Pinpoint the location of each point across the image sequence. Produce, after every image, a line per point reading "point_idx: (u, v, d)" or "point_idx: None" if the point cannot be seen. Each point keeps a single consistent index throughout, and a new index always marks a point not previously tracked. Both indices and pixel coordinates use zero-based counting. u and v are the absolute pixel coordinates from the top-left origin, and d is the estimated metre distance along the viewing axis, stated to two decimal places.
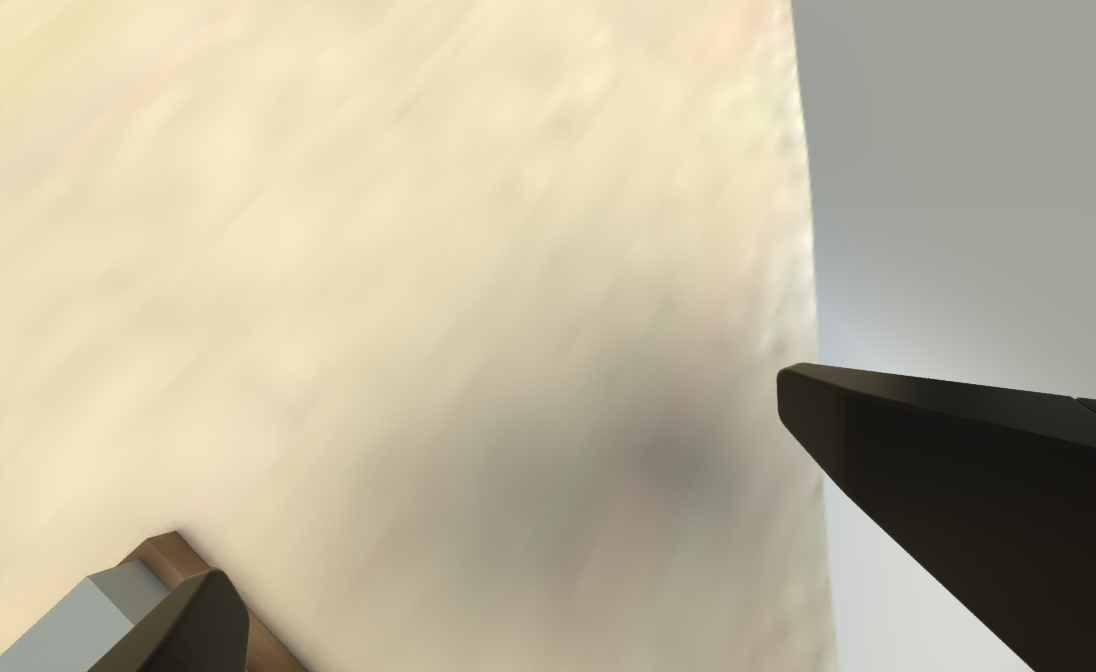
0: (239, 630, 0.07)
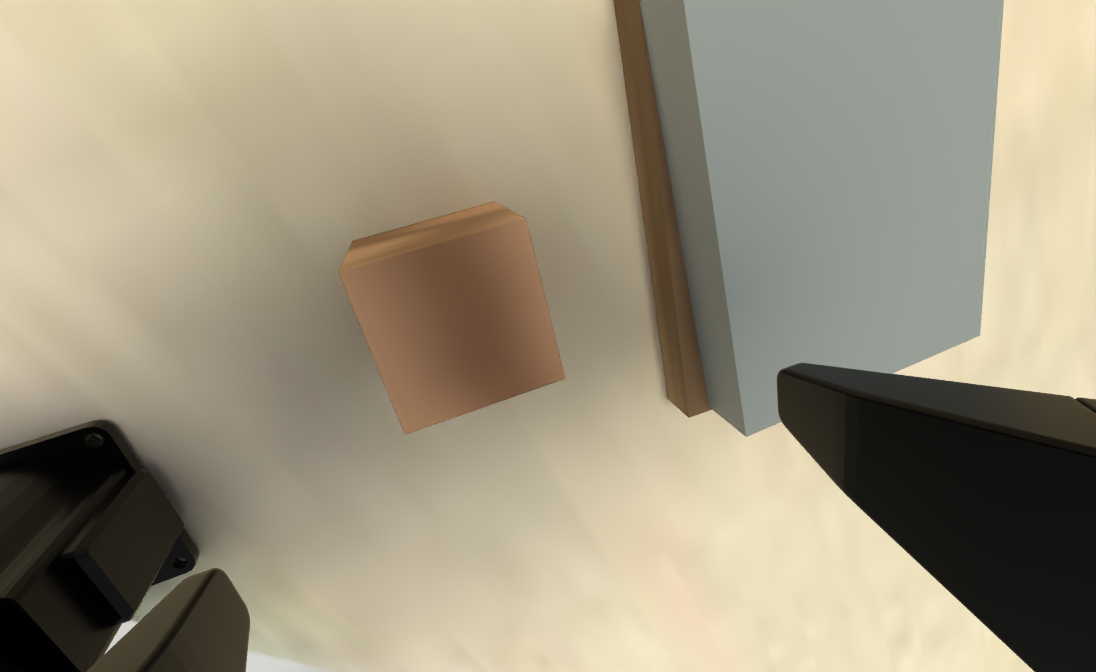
0: (239, 630, 0.07)
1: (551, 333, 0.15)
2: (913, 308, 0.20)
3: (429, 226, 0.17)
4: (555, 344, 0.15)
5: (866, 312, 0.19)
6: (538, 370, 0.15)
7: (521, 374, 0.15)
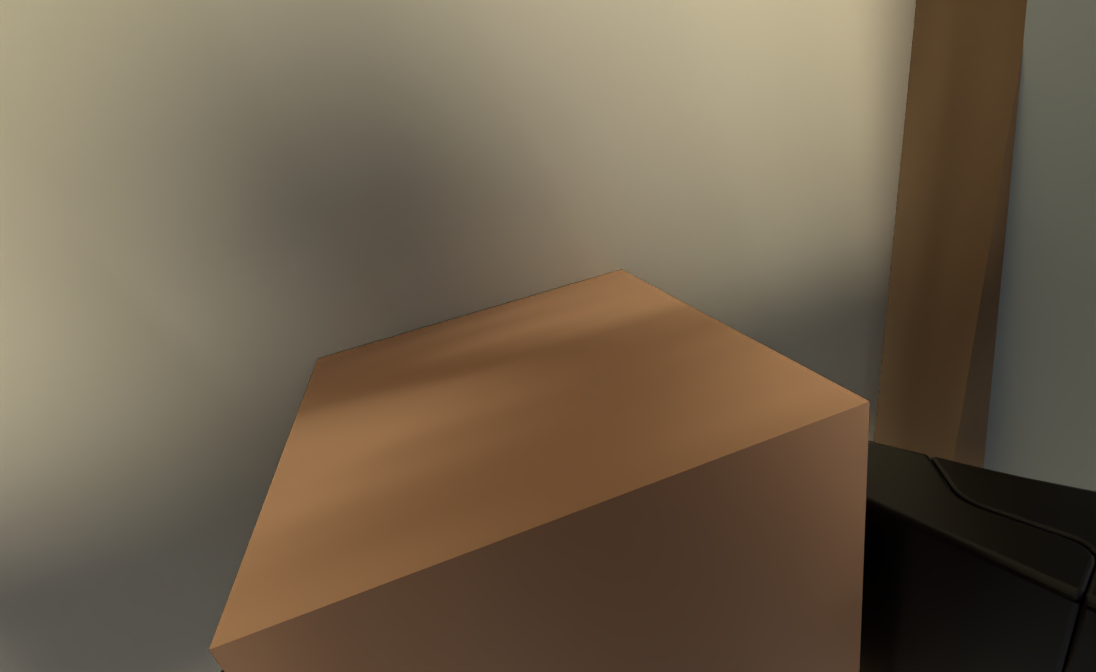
0: None
1: None
2: None
3: (500, 345, 0.07)
4: None
5: None
6: None
7: None
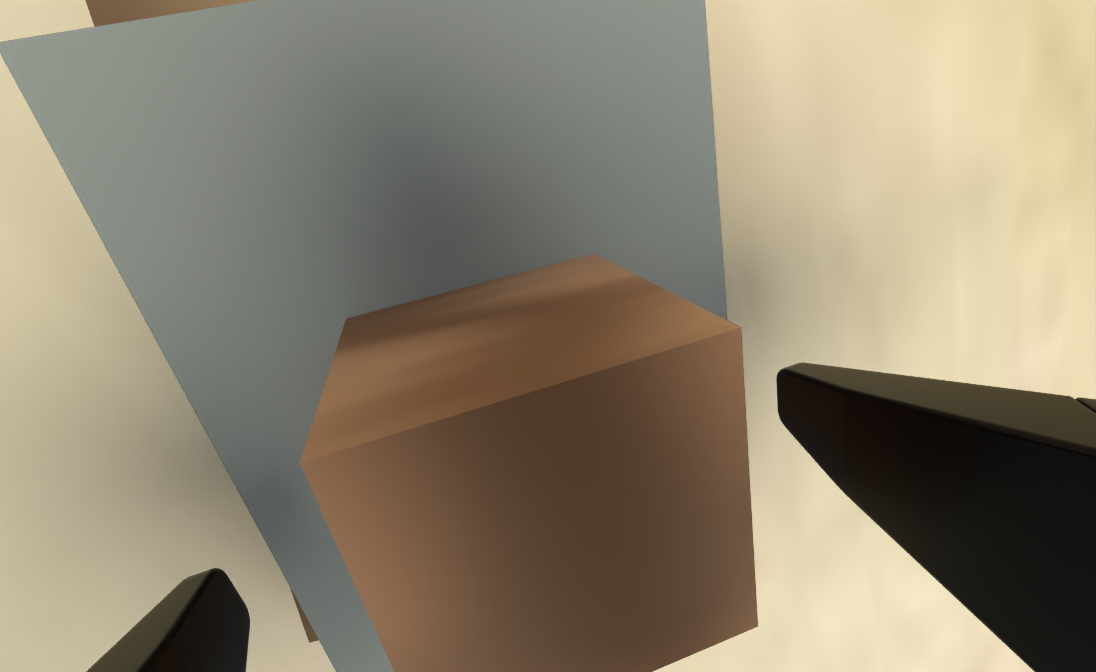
0: (239, 630, 0.07)
1: (748, 550, 0.07)
2: None
3: (492, 305, 0.09)
4: (752, 570, 0.07)
5: None
6: (712, 618, 0.08)
7: (679, 629, 0.07)
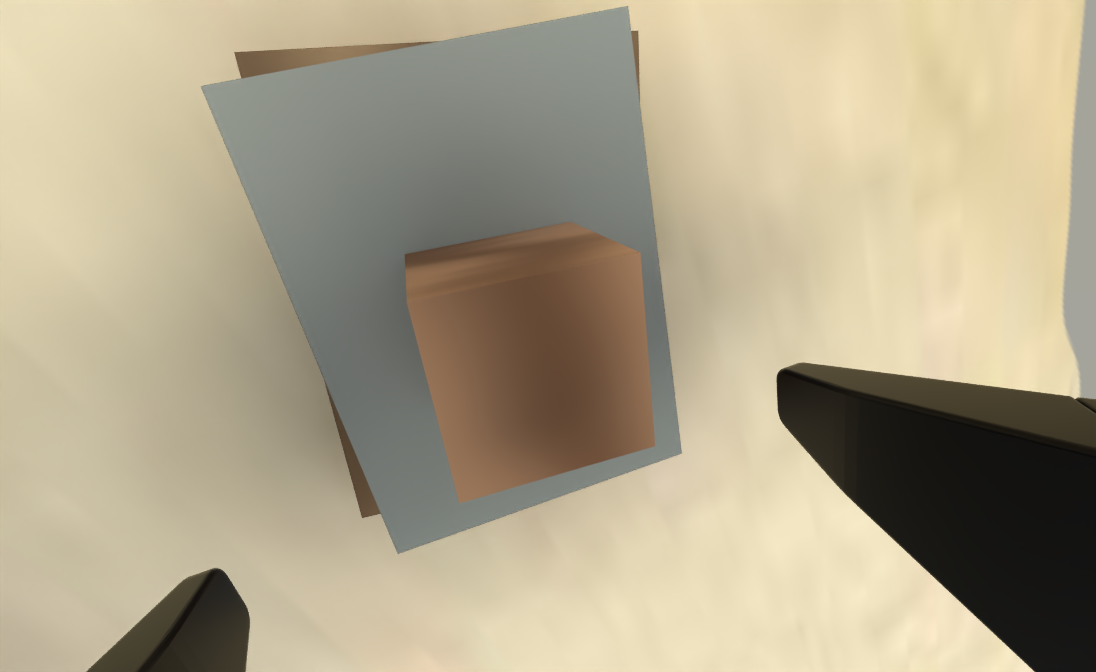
0: (239, 630, 0.07)
1: (648, 392, 0.12)
2: None
3: (502, 246, 0.14)
4: (650, 405, 0.13)
5: None
6: (626, 435, 0.13)
7: (606, 438, 0.13)
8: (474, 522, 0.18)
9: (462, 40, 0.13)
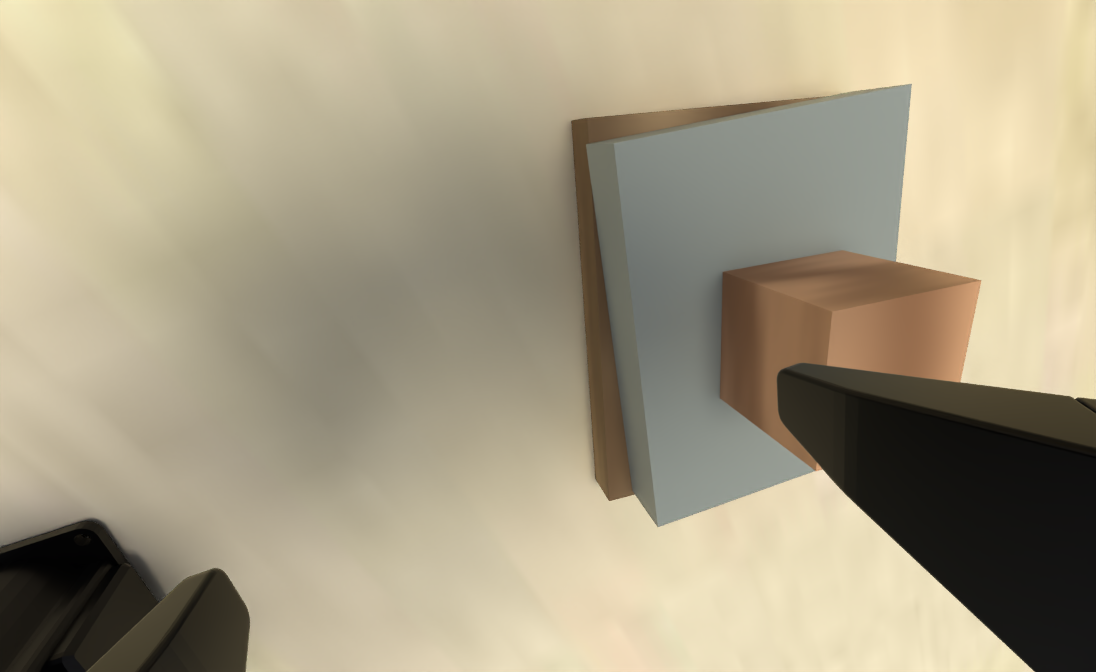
0: (239, 630, 0.07)
1: None
2: None
3: (819, 269, 0.17)
4: None
5: None
6: None
7: None
8: (718, 502, 0.22)
9: (794, 109, 0.17)
